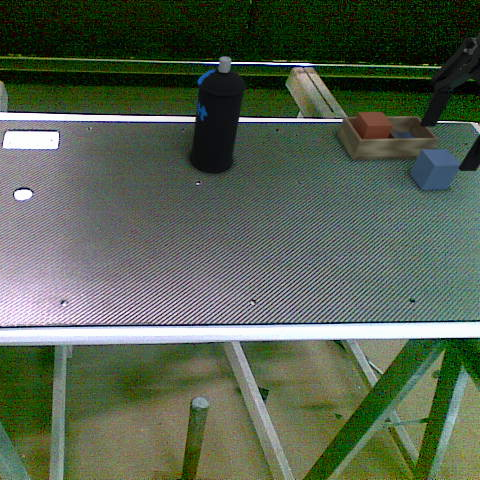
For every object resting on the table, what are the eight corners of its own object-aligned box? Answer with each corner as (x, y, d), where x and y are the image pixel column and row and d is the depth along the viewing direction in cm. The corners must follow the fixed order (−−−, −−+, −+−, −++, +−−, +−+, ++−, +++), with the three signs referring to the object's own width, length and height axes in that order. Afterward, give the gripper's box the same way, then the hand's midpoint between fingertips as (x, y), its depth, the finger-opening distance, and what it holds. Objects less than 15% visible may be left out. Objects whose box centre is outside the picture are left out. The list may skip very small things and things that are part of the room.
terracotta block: (372, 135, 98) (382, 111, 94) (382, 149, 94) (393, 125, 90) (349, 136, 97) (358, 112, 93) (358, 150, 94) (368, 125, 90)
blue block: (433, 172, 91) (447, 148, 87) (447, 189, 88) (461, 165, 84) (409, 173, 91) (421, 149, 87) (421, 190, 87) (435, 165, 83)
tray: (409, 134, 101) (418, 115, 97) (429, 158, 95) (439, 139, 91) (337, 135, 99) (343, 116, 96) (352, 159, 93) (360, 140, 90)
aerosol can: (235, 152, 93) (254, 52, 79) (228, 177, 88) (247, 73, 73) (195, 145, 95) (205, 45, 80) (185, 168, 89) (195, 65, 75)
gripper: (447, -8, 77) (395, 109, 92) (549, 60, 59) (464, 191, 74) (490, -7, 78) (431, 109, 93) (603, 60, 60) (508, 191, 75)
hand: (445, 146), depth 84 cm, fingers open, 13 cm apart
